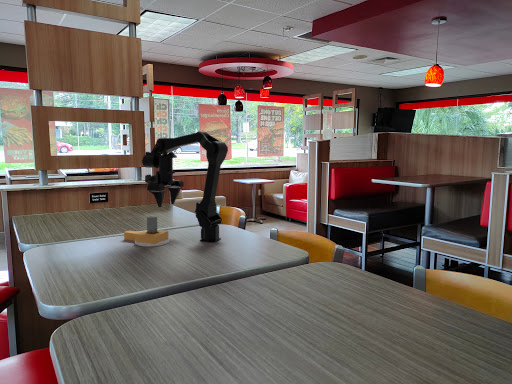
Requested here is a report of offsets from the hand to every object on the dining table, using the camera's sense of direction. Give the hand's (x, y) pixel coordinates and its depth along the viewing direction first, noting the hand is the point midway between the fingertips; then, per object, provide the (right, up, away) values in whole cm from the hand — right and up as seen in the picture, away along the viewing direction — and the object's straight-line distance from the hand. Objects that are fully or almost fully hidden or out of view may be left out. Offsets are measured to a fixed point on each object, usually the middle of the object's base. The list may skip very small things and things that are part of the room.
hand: (166, 205), depth 157 cm
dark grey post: (-2, -13, -12) cm, 18 cm away
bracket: (-5, -14, -11) cm, 18 cm away
